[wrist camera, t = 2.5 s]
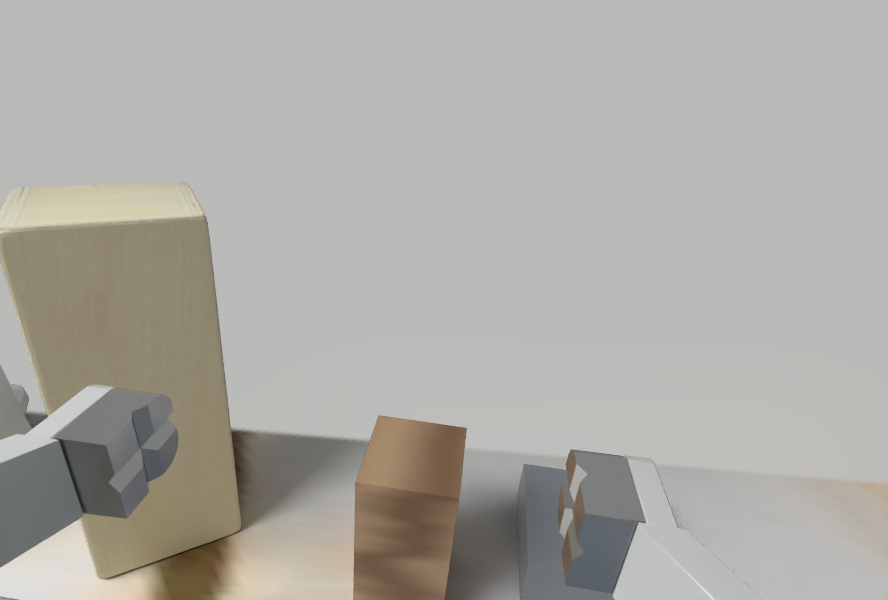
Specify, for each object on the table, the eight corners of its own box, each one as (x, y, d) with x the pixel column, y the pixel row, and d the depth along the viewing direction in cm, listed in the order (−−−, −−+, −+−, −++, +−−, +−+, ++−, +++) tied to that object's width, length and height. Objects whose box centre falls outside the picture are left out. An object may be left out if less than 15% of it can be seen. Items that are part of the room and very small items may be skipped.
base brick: (520, 599, 30) (528, 566, 29) (517, 494, 37) (523, 464, 36) (656, 621, 30) (671, 588, 28) (627, 511, 37) (638, 480, 36)
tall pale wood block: (225, 455, 38) (187, 176, 29) (246, 530, 33) (207, 215, 23) (98, 491, 34) (7, 182, 25) (98, 584, 29) (-19, 232, 19)
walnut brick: (353, 611, 29) (355, 482, 24) (373, 536, 33) (378, 415, 29) (440, 626, 28) (459, 498, 24) (449, 548, 33) (466, 428, 28)
